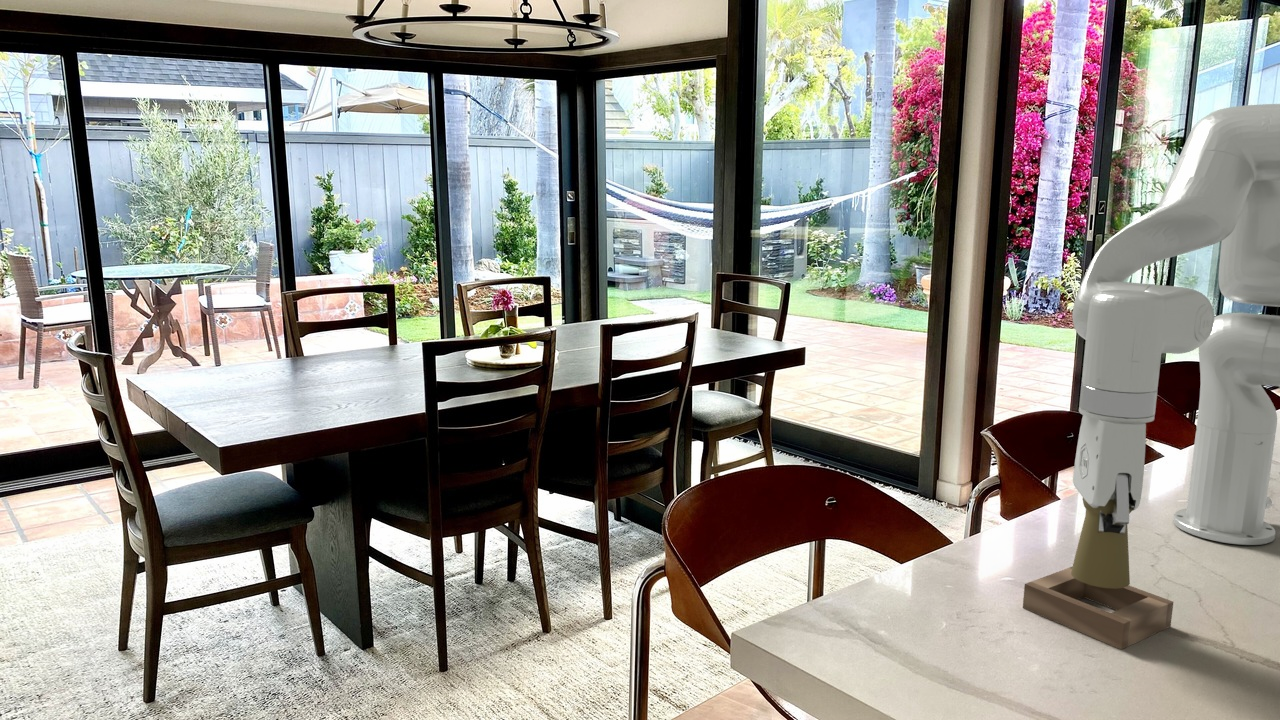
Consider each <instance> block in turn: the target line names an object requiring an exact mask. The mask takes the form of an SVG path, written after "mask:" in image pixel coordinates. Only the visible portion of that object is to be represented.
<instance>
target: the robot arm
mask: <svg viewBox="0 0 1280 720" xmlns="http://www.w3.org/2000/svg"><path fill="white" fill-rule="evenodd" d="M1185 140H1186V141H1185V143H1184V145H1183V148H1182V150H1181V152H1180V154H1179V157H1178V159H1177V161H1176V163H1175V166H1174V169H1173V170H1172V173H1171V175H1170V177H1169V180H1168V182H1167V185H1166V187H1165V189H1164V191H1163V194H1162V196H1161V199H1160V201H1159V203H1158V205H1157V206H1156V207H1154V208H1153V209H1152V210H1150V211H1148V212H1146V213H1144V214H1143V215H1142V214H1141V216H1139V217H1138V218H1136V219H1135V220H1133V221H1131V222H1130V223H1128V224H1127V225H1126V226H1124V227H1123V228H1122V229H1120V230H1119V231H1118V232H1117V233H1115V234H1114V235H1112V236H1111V237H1110V238H1109V239H1108V240H1106V242H1105V243H1103V244H1102V246H1100V248H1099V249H1098V250H1097V251H1096V253H1095V254H1094V256H1093V258H1092V260H1091V261H1090V263H1089V265H1088V267H1087V270H1086V272H1085V274H1084V276H1083V278H1082V280H1081V283H1080V285H1079V288H1078V291H1077V293H1076V297H1075V299H1074V303H1073V308H1072V323H1073V328H1074V330H1075V332H1076V333H1077V334H1078V336H1079V337H1081V338H1082V339H1084V340H1085V342H1084V343H1085V344H1084V355H1083V363H1082V366H1083V367H1082V377H1081V384H1080V385H1081V386H1080V394H1079V395H1080V396H1079V404H1078V405H1079V407H1078V412H1079V413H1080V415H1082V418H1081V423H1080V427H1079V434H1078V439H1077V445H1076V453H1075V459H1074V467H1073V473H1072V483H1073V486H1074V487H1075V489H1076V491H1077V492H1078V493H1079V495H1080V496H1081V497H1082V498H1084V499H1085V500H1086V502H1087V503H1088V504H1089V505H1090V506H1091V507H1093V508H1098V506H1105V505H1106V504H1107V502H1108V501H1109V500H1113V503H1114V510H1113V513H1112V514H1107V515H1106V517H1105V514H1103V513H1102V511H1101V510H1100V514H1099V516H1098V533H1101V532H1103V531H1104V532H1113V533H1118V534H1122V535H1124V534H1125V528H1126V524H1127V525H1129V524H1130V514H1129V510H1131V511H1132V512H1134V511H1135V510H1137V509H1138V508H1139V507H1140V504H1141V499H1142V498H1141V497H1142V493H1143V485H1144V474H1145V461H1146V459H1145V458H1146V442H1147V440H1146V435H1147V433H1146V431H1147V423H1151V422H1154V421H1155V415H1156V408H1157V398H1158V387H1159V379H1160V369H1161V361H1162V354H1172V355H1173V354H1174V355H1178V354H1179V355H1180V354H1186V353H1191V352H1193V351H1195V350H1196V349H1198V358H1199V360H1198V361H1199V373H1200V376H1199V377H1200V380H1199V381H1200V388H1199V401H1198V410H1197V411H1198V412H1197V421H1196V426H1195V427H1196V428H1195V438H1194V444H1193V445H1194V446H1193V453H1192V461H1191V471H1190V478H1189V479H1190V480H1189V485H1188V486H1189V487H1188V488H1189V489H1188V495H1187V501H1186V503H1187V504H1186V508H1183V509H1179V510H1176V511H1175V512H1174V513H1173V518H1172V522H1173V524H1174V525H1175V526H1176V527H1177V528H1178V529H1180V530H1181V531H1183V532H1186V533H1188V534H1190V535H1193V536H1196V537H1199V538H1201V539H1206V540H1208V541H1214V542H1216V543H1217V542H1218V543H1224V544H1230V545H1240V546H1259V545H1266V544H1269V543H1271V542H1273V541H1275V539H1276V529H1275V528H1274V527H1273V526H1272V525H1271V524H1269V523H1268V522H1265V521H1264V520H1265V516H1266V510H1267V509H1270V508H1271V507H1272V505H1273V502H1272V499H1271V498H1270V497H1269V496H1268V491H1269V485H1270V478H1271V477H1270V476H1271V470H1272V469H1271V468H1272V464H1273V463H1272V462H1273V456H1274V449H1275V448H1274V447H1275V440H1276V433H1277V427H1278V426H1277V425H1278V414H1277V409H1276V407H1275V406H1274V403H1273V402H1272V400H1271V398H1270V396H1269V395H1268V394H1267V392H1266V390H1265V389H1264V387H1263V386H1273V387H1280V315H1275V314H1271V315H1270V314H1262V313H1252V312H1251V313H1250V312H1249V313H1248V312H1228V313H1221V314H1219V315H1217V316H1215V312H1214V308H1213V305H1212V303H1211V301H1210V299H1209V298H1208V297H1207V296H1206V295H1205V294H1203V293H1202V292H1200V291H1199V290H1196V289H1194V288H1189V287H1183V286H1176V285H1174V286H1173V285H1159V284H1154V283H1152V284H1151V283H1141V282H1127V280H1128V279H1129V278H1130V277H1131V276H1132V275H1134V274H1135V273H1137V272H1138V271H1140V270H1141V269H1143V268H1146V267H1147V266H1149V265H1152V264H1154V263H1157V262H1160V261H1163V260H1167V259H1169V258H1173V257H1178V256H1182V255H1184V254H1188V253H1192V252H1195V251H1197V250H1201V249H1203V248H1207V247H1210V246H1212V245H1213V246H1214V245H1215V244H1218V243H1220V242H1221V243H1220V253H1219V254H1220V256H1219V267H1218V286H1219V287H1218V288H1219V290H1220V293H1221V295H1222V296H1223V297H1224V298H1225V299H1228V300H1229V301H1231V302H1236V303H1239V304H1240V303H1241V304H1248V305H1256V306H1267V307H1278V308H1279V307H1280V103H1269V104H1267V103H1265V104H1250V105H1248V104H1247V105H1237V106H1236V105H1235V106H1231V107H1226V108H1221V109H1218V110H1215V111H1212V112H1210V113H1209V114H1207V115H1205V116H1204V117H1203V118H1201V119H1200V120H1199V121H1197V122H1196V124H1194V126H1193V127H1192V128H1191V131H1190V132H1189V135H1188V136H1187V139H1185ZM1130 492H1131V496H1132V500H1133V502H1132V501H1129V493H1130ZM1129 506H1130V507H1129ZM1086 511H1087V510H1086V509H1085V512H1086Z"/></svg>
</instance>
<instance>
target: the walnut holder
mask: <svg viewBox="0 0 1280 720" xmlns="http://www.w3.org/2000/svg"><path fill="white" fill-rule="evenodd" d="M1072 567H1073V565H1072V566H1070V567H1068V568H1064V569H1062V570H1061V569H1060V570H1059V571H1057V572H1053V573H1051V574H1048V575H1045V576H1043V577H1039V578H1037V579H1034V580H1032V581H1029V582H1026V583H1024V588H1023V589H1024V591H1023V601H1022V608H1023V609H1025V610H1027V611H1029V612H1032V613H1034V614H1036V615H1039V616H1041V617H1044V618H1045V619H1047V620H1050V621H1053V622H1056V623H1058V624H1060V625H1063V627H1064V626H1065V627H1067V628H1069V629H1072V630H1074V631H1077V632H1078V633H1081V634H1083V635H1085V636H1088V637H1090V638H1092V639H1096V640H1097V641H1100V642H1102V643H1104V644H1107V645H1109V646H1111V647H1114V648H1116V649H1118V650H1123V649H1126V648H1128V647H1129V646H1132V645H1134V644H1136V643H1138V642H1141V641H1143V640H1144V639H1145V640H1146V639H1147V638H1149V637H1151V636H1154V635H1155V634H1159V632H1162V631H1164V630H1165V629H1168V628H1170V627H1171V626H1172V618H1173V617H1172V616H1173V611H1174V610H1173V609H1174V600H1169V599H1167V598H1165V597H1162V596H1160V595H1159V596H1158V595H1156V594H1153V593H1150V592H1148V591H1145V590H1142V589H1140V588H1137V587H1135V586H1132V585H1130V584H1129V585H1128V586H1127V587H1124V588H1117V589H1114V588H1102V587H1096V586H1092V585H1088V584H1086V583H1083V582H1080V581H1079V580H1077V579H1075V578H1074V577H1073V576H1072V575H1071V571H1072ZM1083 598H1085V599H1087V600H1090V601H1092V602H1094V603H1097V604H1099V605H1102V606H1105V607H1108V608H1110V609H1113V610H1114V611H1113V612H1108V611H1107V610H1104V609H1101V608H1098V607H1096V606H1094V605H1092V604H1089V603H1085V602H1083V601H1081V599H1083Z"/></svg>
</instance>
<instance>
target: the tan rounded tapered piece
mask: <svg viewBox="0 0 1280 720" xmlns="http://www.w3.org/2000/svg"><path fill="white" fill-rule="evenodd" d="M1129 501H1132V502H1133V500H1132V496H1131V492H1130V493H1129ZM1082 502H1083V503H1082V505H1083V507H1084V508H1085V514H1084V515H1085V516H1084V520H1083V524H1082V528H1081V532H1080V536H1079V539H1078V544H1077V548H1076V551H1075V555H1074V560H1073V563H1072V566H1073V567H1072V566H1071V567H1072V571H1071V575H1072V576H1073V577H1074V578H1075V579H1077V580H1079V581H1080V582H1083V583H1086V584H1088V585H1092V586H1096V587H1102V588H1114V589H1117V588H1124V587H1127V586H1128V585H1129V586H1130V585H1131V582H1130V578H1131V577H1130V560H1129V559H1130V557H1129V556H1130V555H1129V534H1128V533H1129V532H1128V524H1126V528H1125V534H1124V535H1122V534H1118V533H1113V532H1104V531H1103V532H1101V533H1098V516H1099V514H1100V510H1101V511H1102V513H1103V514H1105V517H1106V515H1107V514H1112V513H1113V510H1114V503H1113V500H1109V501H1108V502H1107V504H1106V505H1105V506H1098V508H1093V507H1091V506H1090V505H1089V504H1088V503H1087V502H1086V500H1085V499H1084V498H1083V497H1082ZM1129 507H1130V506H1129ZM1086 510H1087V511H1086ZM1132 512H1133V511H1131V510H1129V515H1130V514H1131V513H1132Z"/></svg>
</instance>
